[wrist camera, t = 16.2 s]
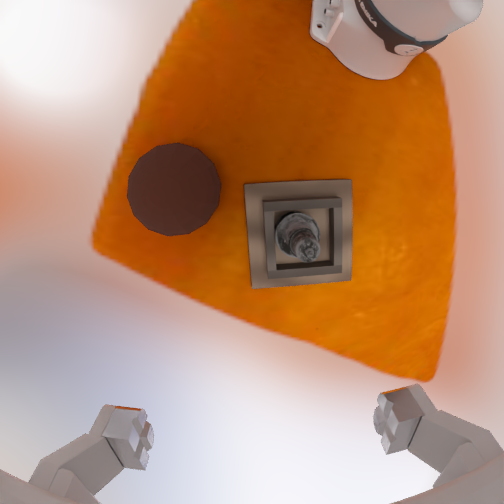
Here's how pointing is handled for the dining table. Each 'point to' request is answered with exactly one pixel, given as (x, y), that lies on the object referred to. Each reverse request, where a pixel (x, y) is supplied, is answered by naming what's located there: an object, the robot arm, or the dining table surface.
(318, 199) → the walnut board
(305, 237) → the grey chess piece
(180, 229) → the muffin
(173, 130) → the dining table surface
